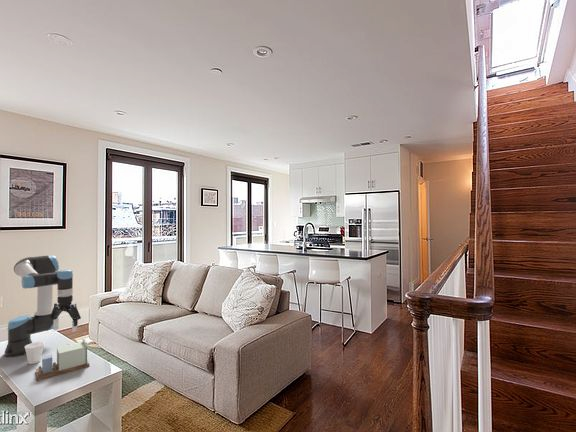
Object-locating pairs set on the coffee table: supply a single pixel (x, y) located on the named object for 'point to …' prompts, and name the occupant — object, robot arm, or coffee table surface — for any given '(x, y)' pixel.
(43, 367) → the jaw block
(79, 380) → the coffee table surface
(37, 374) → the board
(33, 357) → the cup
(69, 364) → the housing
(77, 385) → the coffee table surface
